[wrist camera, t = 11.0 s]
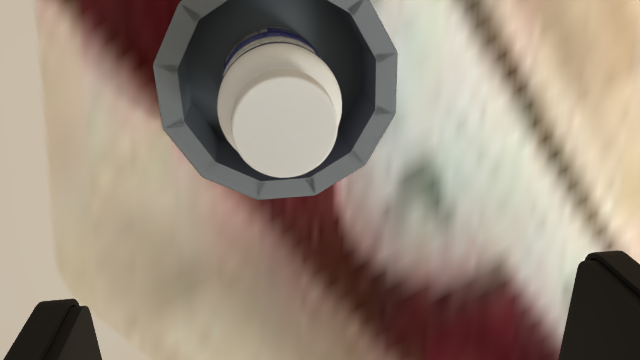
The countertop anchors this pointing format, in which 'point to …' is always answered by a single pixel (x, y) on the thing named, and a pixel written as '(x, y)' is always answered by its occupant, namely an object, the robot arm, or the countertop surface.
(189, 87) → the grey faceted bowl
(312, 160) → the pill bottle
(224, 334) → the countertop surface
